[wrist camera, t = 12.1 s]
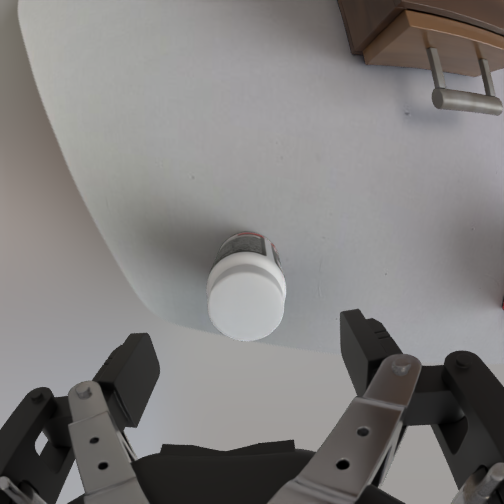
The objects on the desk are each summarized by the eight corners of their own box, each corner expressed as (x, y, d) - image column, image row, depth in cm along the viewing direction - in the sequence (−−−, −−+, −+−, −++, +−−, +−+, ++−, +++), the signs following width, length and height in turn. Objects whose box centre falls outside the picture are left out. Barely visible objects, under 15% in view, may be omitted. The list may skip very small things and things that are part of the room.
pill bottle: (205, 267, 24) (181, 316, 16) (241, 218, 23) (232, 246, 15) (254, 301, 25) (253, 361, 17) (291, 255, 24) (309, 300, 15)
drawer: (483, 122, 19) (544, 117, 12) (375, 117, 20) (428, 98, 12) (433, -37, 15) (469, -71, 7) (327, -56, 15) (345, -108, 8)
